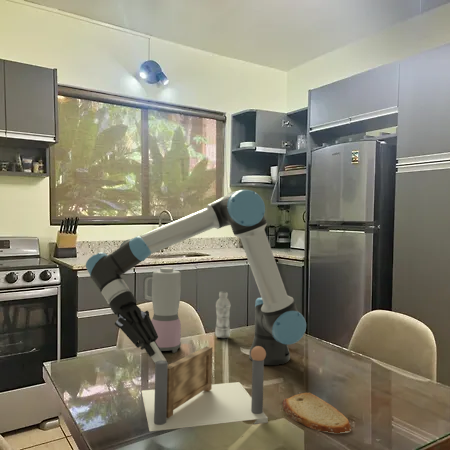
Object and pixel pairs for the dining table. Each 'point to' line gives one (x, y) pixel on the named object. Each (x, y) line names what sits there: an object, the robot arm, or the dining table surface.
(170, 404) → the gate
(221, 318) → the plastic bottle
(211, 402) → the gate frame
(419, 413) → the dining table surface
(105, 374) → the dining table surface
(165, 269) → the blender
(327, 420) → the slice of bread
